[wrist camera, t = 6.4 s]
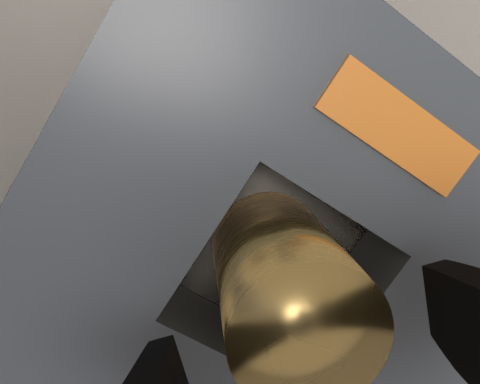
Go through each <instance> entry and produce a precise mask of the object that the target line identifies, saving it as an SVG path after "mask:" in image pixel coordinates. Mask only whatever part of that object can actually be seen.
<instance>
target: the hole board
mask: <svg viewBox="0 0 480 384" xmlns="http://www.w3.org/2000/svg"><path fill="white" fill-rule="evenodd" d="M259 162H261V163H263V164H265V165H266V166H268V167H269V168H271V169H273V170H274V171H276V172H277V173H279V174H281V175H282V176H284V177H285V178H287V179H288V180H290V181H292V182H293V183H295V184H296V185H298V186H300V187H301V188H303V189H304V190H306V191H308V192H309V193H311V194H312V195H314V196H316V197H317V198H319V199H320V200H322V201H323V202H325V203H327V204H328V205H330V206H331V207H333V208H335V209H336V210H338V211H339V212H341V213H343V214H344V215H346V216H347V217H349V218H350V219H352V220H354V221H355V222H357V223H358V224H360V225H362V226H363V227H365V228H366V229H367V231H366V232H365V233H364V235H363V236H362V238H361V239H360V240H359V242H358V243H357V244H356V246H355V247H354V249H353V250H352V251H351V253H350V254H349V255H350V256H351V257H352V258H353V259H354V260H355V261H356V262H357V264H358V265H359V266H360V267H361V268H362V269H363V270H364V271H365V272H366V273H367V275H368V276H369V277H370V278H371V279H372V280H373V281H374V282H375V283H376V284H377V286H378V287H379V288H380V289H381V291H382V292H383V293H384V295H385V297H386V299H387V301H388V302H389V305H390V308H391V311H392V315H393V320H394V336H393V343H392V347H391V351H390V353H389V356H388V358H387V361H386V362H385V364H384V366H383V368H382V369H381V371H380V372H379V374H378V375H377V377H376V378H375V379H374V380H373V381H372V382H371V383H370V384H468V383H467V382H466V381H465V380H464V379H463V378H462V377H461V376H460V375H459V373H458V372H457V371H456V370H455V369H454V368H453V366H452V365H451V363H450V362H449V361H448V359H447V358H446V357H445V355H444V354H443V352H442V351H441V350H440V348H439V347H438V345H437V344H436V342H435V341H434V339H433V338H432V336H431V335H430V327H429V319H428V311H427V303H426V295H425V288H424V280H423V272H422V266H423V265H426V264H430V263H434V262H437V261H441V260H444V259H446V260H451V261H455V262H460V263H463V264H467V265H471V266H474V267H478V268H480V77H479V76H478V75H476V74H475V73H474V72H473V71H471V70H470V69H469V68H468V67H466V66H465V65H464V64H463V63H461V62H460V61H459V60H458V59H456V58H455V57H454V56H453V55H451V54H450V53H449V52H448V51H446V50H445V49H444V48H443V47H441V46H440V45H439V44H438V43H436V42H435V41H434V40H433V39H431V38H430V37H429V36H428V35H426V34H425V33H424V32H423V31H421V30H420V29H419V28H418V27H416V26H415V25H414V24H413V23H411V22H410V21H409V20H408V19H406V18H405V17H404V16H403V15H401V14H400V13H399V12H398V11H396V10H395V9H394V8H393V7H392V6H390V5H389V4H388V3H387V2H385V1H384V0H114V1H113V3H112V5H111V7H110V9H109V10H108V12H107V14H106V16H105V18H104V19H103V21H102V23H101V25H100V27H99V28H98V30H97V32H96V34H95V36H94V38H93V39H92V41H91V43H90V45H89V47H88V48H87V50H86V52H85V54H84V56H83V57H82V59H81V61H80V63H79V65H78V66H77V68H76V70H75V72H74V74H73V76H72V77H71V79H70V81H69V83H68V85H67V86H66V88H65V90H64V92H63V94H62V95H61V97H60V99H59V101H58V103H57V104H56V106H55V108H54V110H53V112H52V113H51V115H50V117H49V119H48V121H47V123H46V124H45V126H44V128H43V130H42V132H41V133H40V135H39V137H38V139H37V141H36V142H35V144H34V146H33V148H32V150H31V151H30V153H29V155H28V157H27V159H26V160H25V162H24V164H23V166H22V168H21V170H20V171H19V173H18V175H17V177H16V179H15V180H14V182H13V184H12V186H11V188H10V189H9V191H8V193H7V195H6V197H5V198H4V200H3V202H2V204H1V206H0V384H122V383H123V382H124V380H125V378H126V377H127V375H128V374H129V372H130V370H131V369H132V367H133V365H134V364H135V362H136V361H137V359H138V357H139V356H140V354H141V352H142V351H143V349H144V348H145V346H146V345H147V343H148V342H149V341H152V340H155V339H159V338H163V337H166V336H170V335H173V336H174V339H175V342H176V345H177V348H178V351H179V355H180V358H181V361H182V364H183V367H184V370H185V373H186V376H187V379H188V382H189V384H237V383H236V381H235V380H234V378H233V376H232V374H231V372H230V369H229V366H228V363H227V357H226V350H225V343H224V336H223V328H222V321H221V314H220V306H218V305H216V304H215V303H213V302H211V301H209V300H207V299H205V298H203V297H201V296H199V295H197V294H195V293H193V292H191V291H190V290H188V289H186V288H184V287H182V286H180V285H179V284H180V283H181V281H182V280H183V278H184V277H185V275H186V274H187V272H188V271H189V269H190V268H191V266H192V265H193V263H194V261H195V260H196V258H197V257H198V255H199V254H200V252H201V251H202V249H203V248H204V246H205V245H206V243H207V242H208V240H209V239H210V237H211V235H212V234H213V232H214V231H215V229H216V228H217V226H218V225H219V223H220V222H221V220H222V219H223V217H224V216H225V214H226V213H227V211H228V209H229V208H230V206H231V205H232V203H233V202H234V200H235V199H236V197H237V196H238V194H239V193H240V191H241V190H242V188H243V187H244V185H245V184H246V182H247V180H248V179H249V177H250V176H251V174H252V173H253V171H254V170H255V168H256V167H257V165H258V164H259Z"/></svg>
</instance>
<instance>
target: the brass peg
mask: <svg viewBox="0 0 480 384" xmlns="http://www.w3.org/2000/svg"><path fill="white" fill-rule="evenodd" d="M212 256H213V263H214V270H215V277H216V285H217V292H218V299H219V306H220V314H221V321H222V328H223V336H224V343H225V350H226V357H227V363H228V366H229V369H230V372H231V374H232V376H233V378H234V380H235V381H236V383H237V384H370V383H371V382H372V381H373V380H374V379H375V378H376V377H377V375H378V374H379V372H380V371H381V369H382V368H383V366H384V364H385V362H386V361H387V358H388V356H389V353H390V351H391V347H392V343H393V336H394V320H393V315H392V311H391V308H390V305H389V302H388V301H387V299H386V297H385V295H384V293H383V292H382V291H381V289H380V288H379V287H378V286H377V284H376V283H375V282H374V281H373V280H372V279H371V278H370V277H369V276H368V275H367V273H366V272H365V271H364V270H363V269H362V268H361V267H360V266H359V265H358V264H357V262H356V261H355V260H354V259H353V258H352V257H351V256H350V255H349V254H348V252H347V251H346V250H345V249H344V248H343V247H342V246H341V245H340V244H339V243H338V241H337V240H336V239H335V238H334V237H333V236H332V235H331V234H330V233H329V231H328V230H327V229H326V228H325V227H324V226H323V225H322V224H321V223H320V222H319V220H318V219H317V218H316V217H315V216H314V215H313V214H312V213H311V212H310V210H309V209H308V208H307V207H306V206H305V205H304V204H302V203H301V202H300V201H298V200H297V199H295V198H293V197H291V196H288V195H286V194H282V193H277V192H262V193H256V194H252V195H249V196H247V197H244V198H242V199H241V200H239V201H237V202H236V203H234V204H233V205H232V206H230V208H229V209H228V211H227V213H226V214H225V216H224V217H223V219H222V220H221V222H220V223H219V225H218V226H217V228H216V229H215V231H214V233H213V237H212Z"/></svg>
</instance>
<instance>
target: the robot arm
mask: <svg viewBox="0 0 480 384" xmlns="http://www.w3.org/2000/svg"><path fill="white" fill-rule="evenodd" d="M422 272H423V280H424V288H425V295H426V303H427V311H428V319H429V327H430V335H431V336H432V338H433V339H434V341H435V342H436V344H437V345H438V347H439V348H440V350H441V351H442V352H443V354H444V355H445V357H446V358H447V359H448V361H449V362H450V363H451V365H452V366H453V368H454V369H455V370H456V371H457V372H458V373H459V375H460V376H461V377H462V378H463V379H464V380H465V381H466V382H467V383H468V384H480V268H478V267H474V266H471V265H467V264H463V263H460V262H455V261H451V260H446V259H444V260H441V261H437V262H434V263H430V264H426V265H423V266H422ZM122 384H189V382H188V379H187V376H186V373H185V370H184V367H183V364H182V361H181V358H180V355H179V351H178V348H177V345H176V342H175V339H174V336H173V335H170V336H166V337H163V338H159V339H155V340H152V341H149V342H148V343H147V345H146V346H145V348H144V349H143V351H142V352H141V354H140V356H139V357H138V359H137V361H136V362H135V364H134V365H133V367H132V369H131V370H130V372H129V374H128V375H127V377H126V378H125V380H124V382H123V383H122Z"/></svg>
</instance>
